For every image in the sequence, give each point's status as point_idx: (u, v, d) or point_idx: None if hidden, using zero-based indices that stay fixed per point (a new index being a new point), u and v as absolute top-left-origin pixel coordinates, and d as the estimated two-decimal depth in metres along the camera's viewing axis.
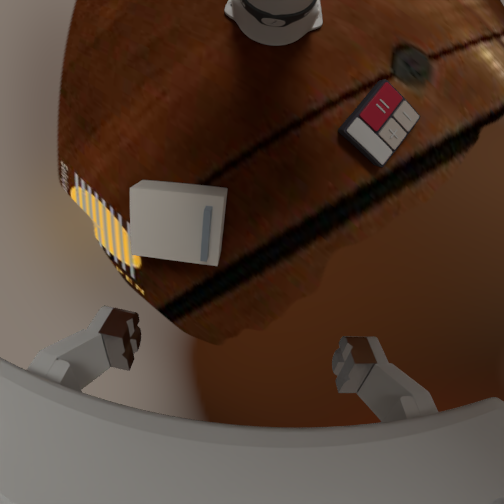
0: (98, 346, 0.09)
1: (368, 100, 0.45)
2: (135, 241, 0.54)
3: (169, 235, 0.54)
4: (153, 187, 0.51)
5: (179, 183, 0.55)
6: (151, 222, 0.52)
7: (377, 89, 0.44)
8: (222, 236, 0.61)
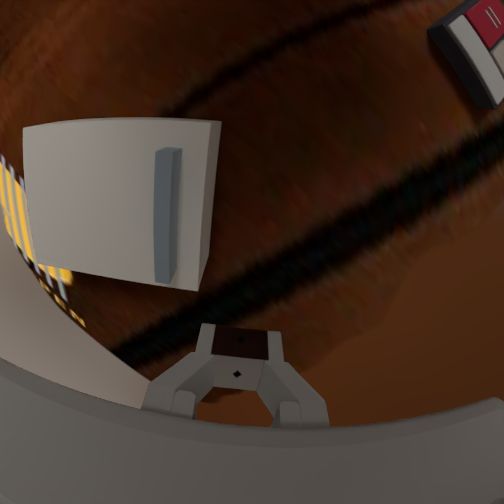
0: (210, 368, 0.09)
1: (473, 2, 0.13)
2: (38, 237, 0.23)
3: (91, 222, 0.22)
4: (65, 122, 0.19)
5: None
6: (59, 196, 0.21)
7: None
8: (210, 225, 0.29)
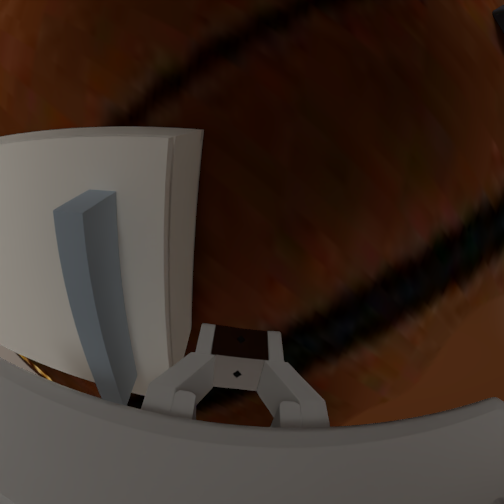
0: (210, 368, 0.09)
1: None
2: None
3: (13, 299, 0.12)
4: None
5: (57, 129, 0.14)
6: None
7: None
8: (191, 291, 0.19)
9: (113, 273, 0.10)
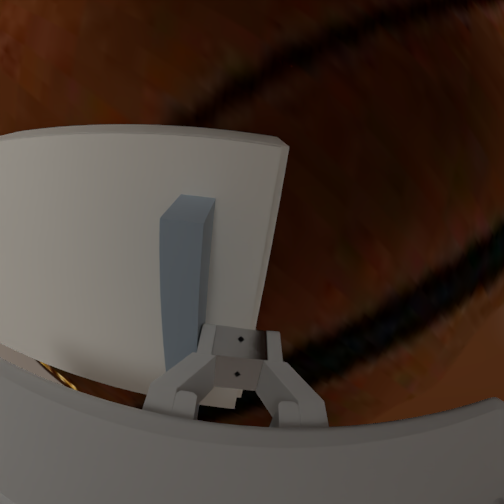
0: (211, 368, 0.09)
1: None
2: None
3: (57, 311, 0.12)
4: (9, 137, 0.09)
5: None
6: (4, 264, 0.11)
7: None
8: None
9: (205, 285, 0.10)
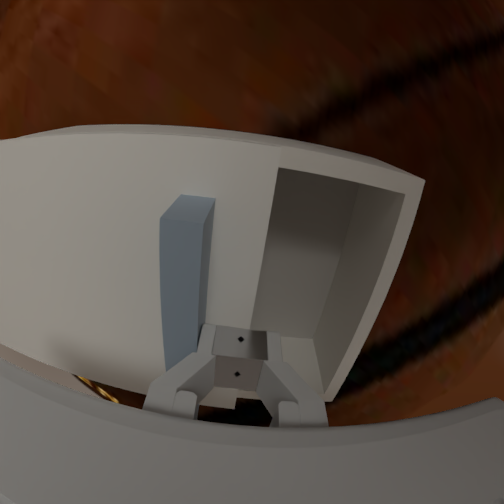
0: (211, 368, 0.09)
1: None
2: None
3: (57, 311, 0.12)
4: (94, 130, 0.10)
5: (204, 128, 0.14)
6: (4, 264, 0.11)
7: None
8: None
9: (205, 285, 0.10)
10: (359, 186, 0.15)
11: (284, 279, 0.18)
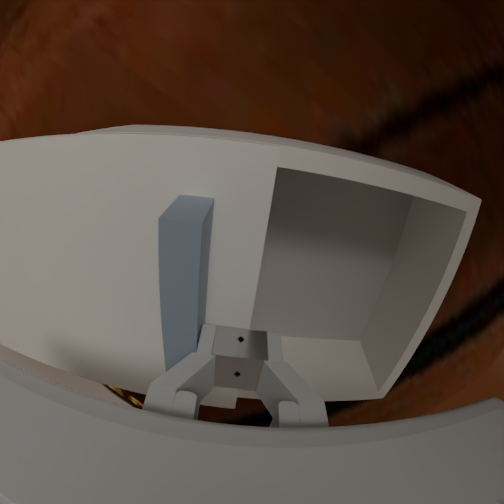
0: (211, 368, 0.09)
1: None
2: None
3: (58, 311, 0.12)
4: (179, 132, 0.10)
5: (275, 136, 0.14)
6: (4, 265, 0.11)
7: None
8: None
9: (205, 285, 0.10)
10: (413, 198, 0.15)
11: (341, 285, 0.18)
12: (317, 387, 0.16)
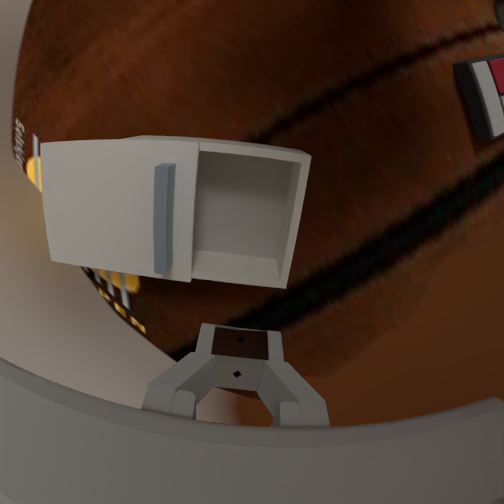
0: (210, 368, 0.09)
1: (498, 56, 0.20)
2: (53, 238, 0.27)
3: (101, 224, 0.27)
4: (164, 139, 0.25)
5: (211, 139, 0.29)
6: (73, 202, 0.25)
7: None
8: None
9: (172, 197, 0.25)
10: (292, 165, 0.30)
11: (255, 218, 0.33)
12: (239, 274, 0.31)
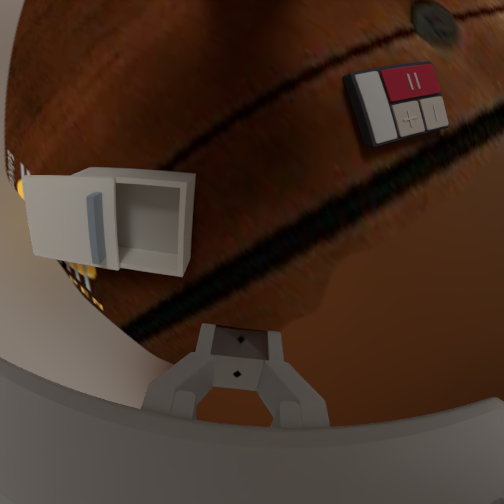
0: (210, 368, 0.09)
1: (400, 65, 0.30)
2: (34, 239, 0.38)
3: (63, 230, 0.37)
4: (96, 174, 0.35)
5: (133, 169, 0.40)
6: (45, 216, 0.36)
7: (416, 63, 0.29)
8: None
9: (100, 214, 0.35)
10: None
11: (166, 225, 0.43)
12: (151, 265, 0.41)
